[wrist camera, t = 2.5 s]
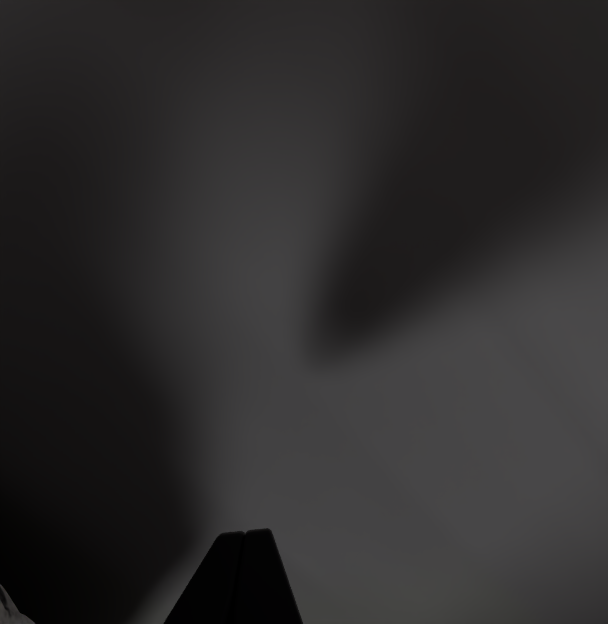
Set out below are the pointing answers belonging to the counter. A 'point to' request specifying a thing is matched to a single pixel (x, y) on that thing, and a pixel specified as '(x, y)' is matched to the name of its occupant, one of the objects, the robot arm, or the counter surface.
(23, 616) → the rock
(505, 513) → the counter surface
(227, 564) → the robot arm
